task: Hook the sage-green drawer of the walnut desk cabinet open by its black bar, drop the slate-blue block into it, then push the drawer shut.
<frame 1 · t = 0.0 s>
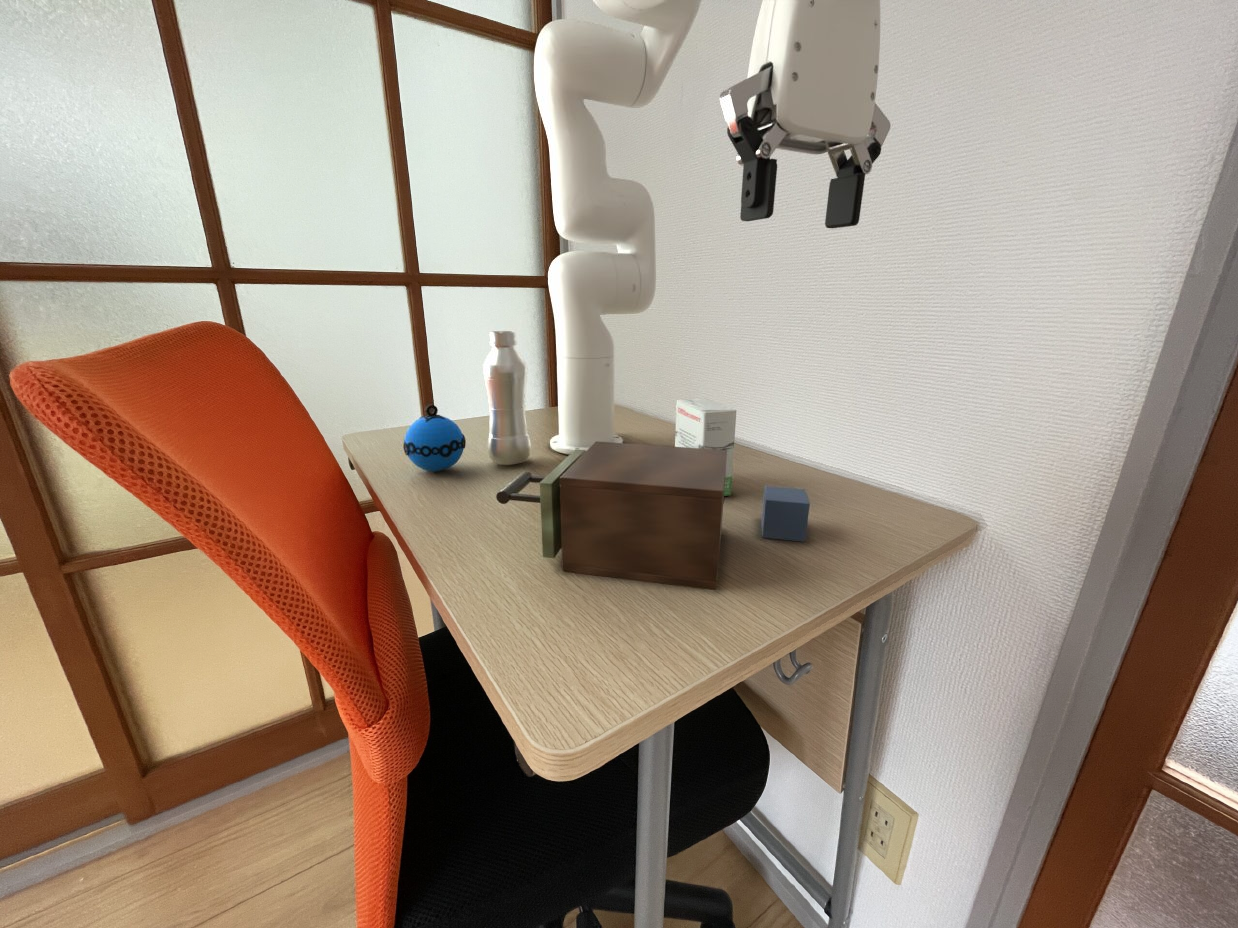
hand: (800, 223, 44), 31 cm above the table, tool pointing down, fingers open, 9 cm apart
ink box: (700, 489, 73), on the table
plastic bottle: (510, 464, 83), on the table
ornament: (438, 471, 79), on the table
drawer: (595, 502, 55), point 5 cm above the table, slide at 1.0 cm
cabinet: (648, 549, 55), on the table
block: (782, 531, 60), on the table
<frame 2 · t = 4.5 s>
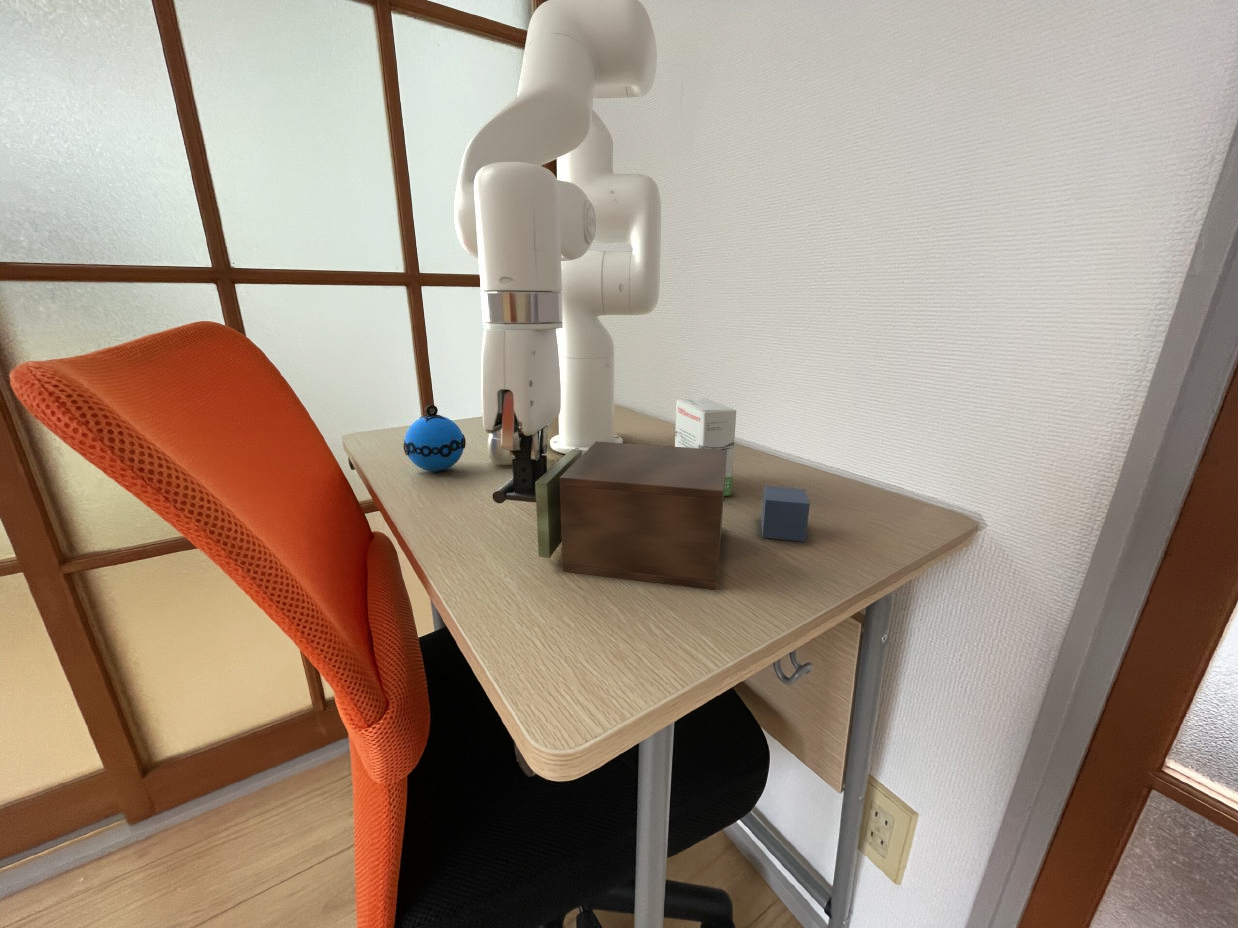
hand: (531, 492, 56), 5 cm above the table, tool pointing down, fingers closed
drawer: (591, 502, 55), point 5 cm above the table, slide at 1.4 cm, touching gripper
everything else where it was.
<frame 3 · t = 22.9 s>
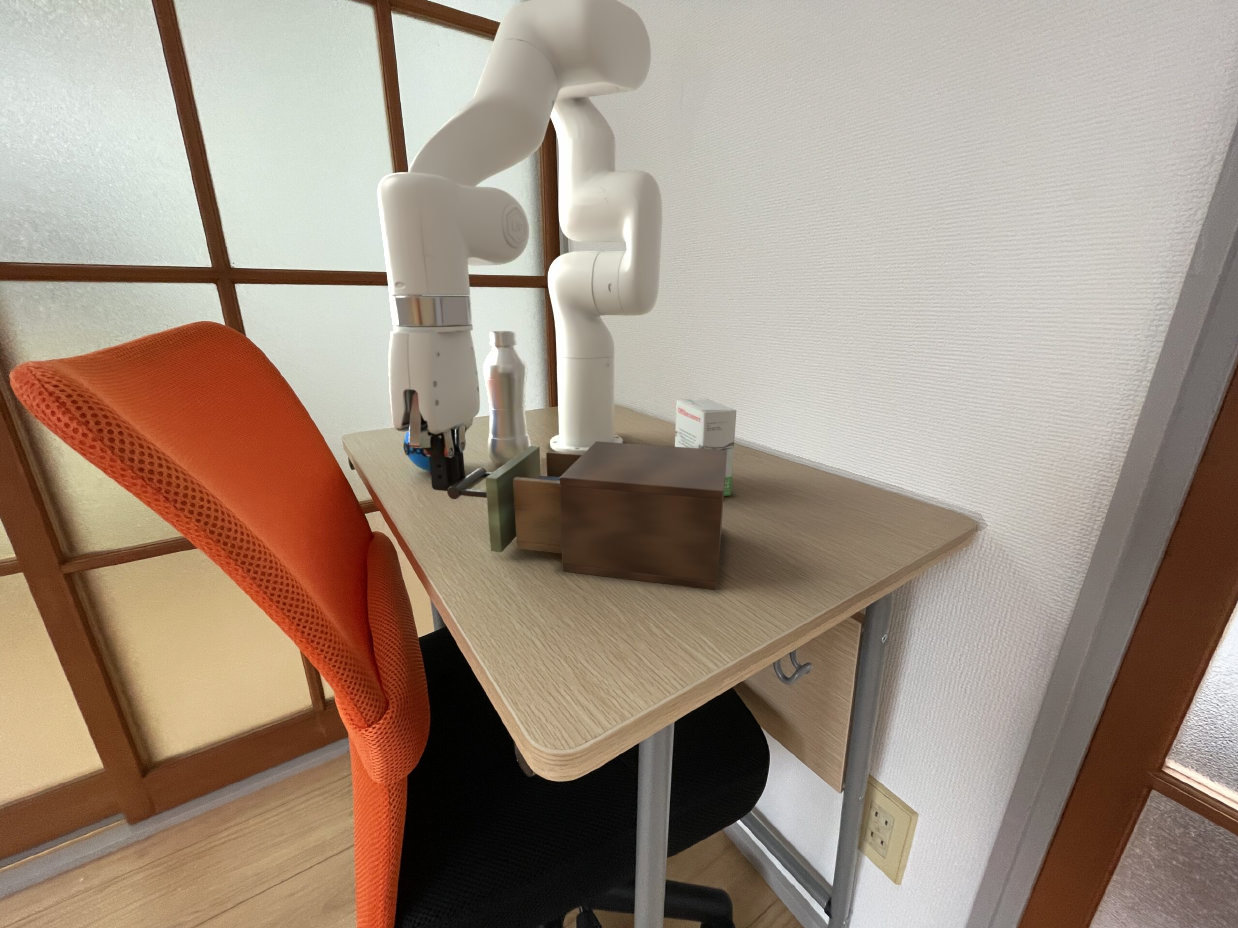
hand: (449, 488, 58), 5 cm above the table, tool pointing down, fingers closed
drawer: (546, 497, 56), point 5 cm above the table, slide at 6.5 cm, touching block, gripper
block: (574, 505, 55), point 4 cm above the table, tilted 90°, touching drawer
everything else where it was.
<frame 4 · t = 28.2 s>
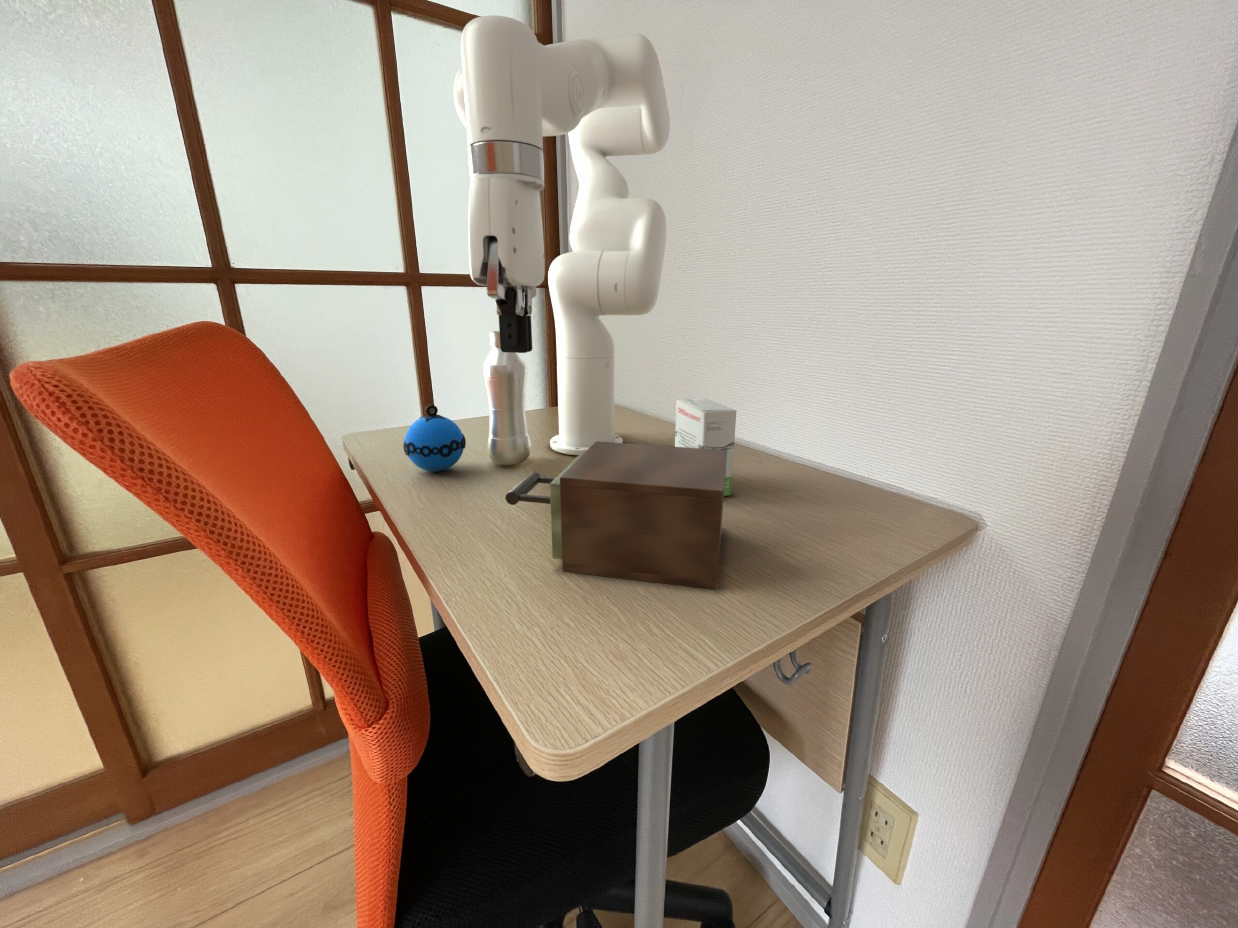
hand: (516, 351, 60), 19 cm above the table, tool pointing down, fingers closed
drawer: (605, 503, 55), point 5 cm above the table, slide at 0.0 cm, touching block, cabinet
block: (635, 511, 54), point 4 cm above the table, tilted 90°, touching drawer
everything else where it was.
at the end: drawer pulled out 7.6 cm at the most during the clip, back to where it started at the end; block inside the target area in the cabinet (1.4 cm from its centre), point 4.2 cm above the cabinet's base; drawer slide at 0.0 cm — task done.
